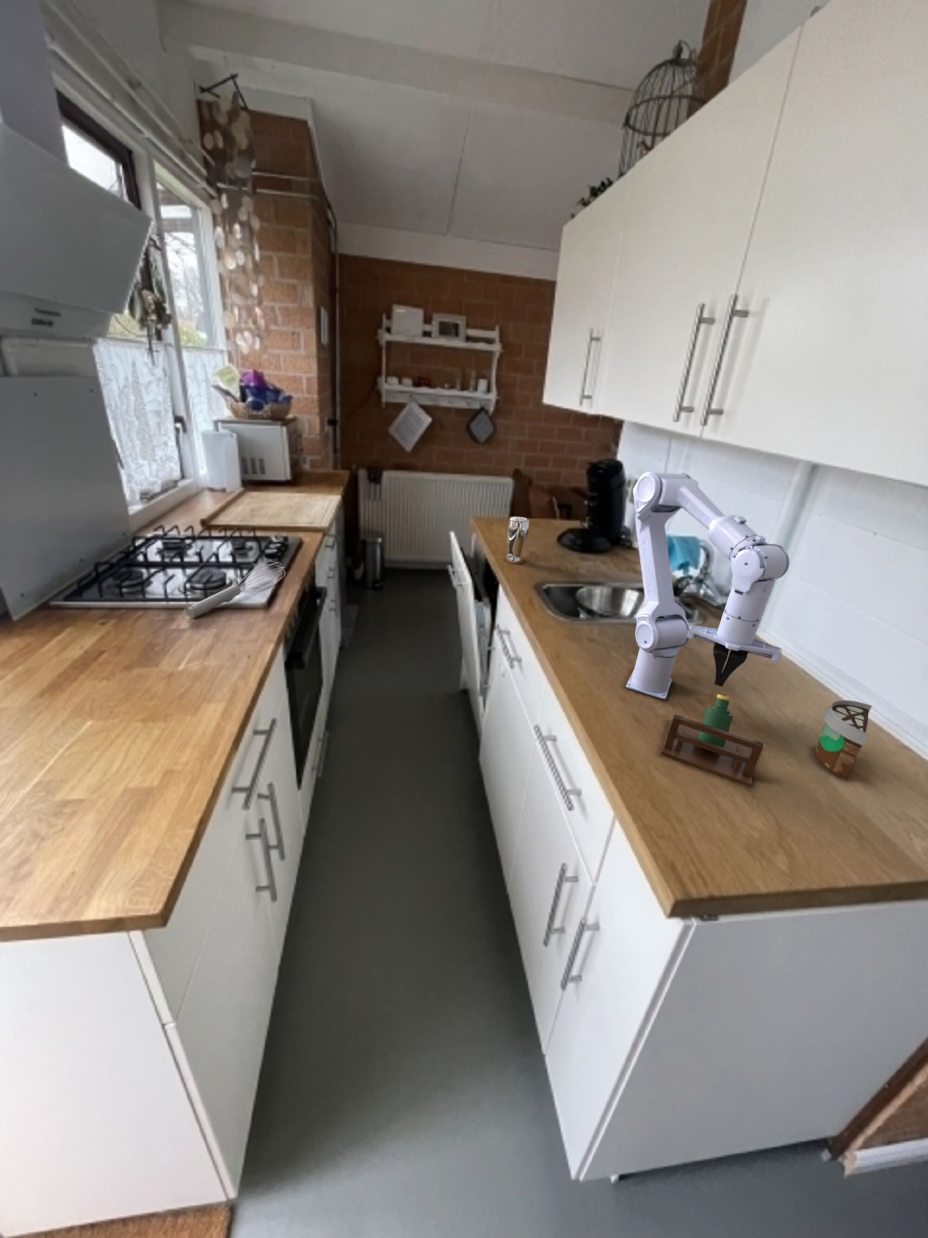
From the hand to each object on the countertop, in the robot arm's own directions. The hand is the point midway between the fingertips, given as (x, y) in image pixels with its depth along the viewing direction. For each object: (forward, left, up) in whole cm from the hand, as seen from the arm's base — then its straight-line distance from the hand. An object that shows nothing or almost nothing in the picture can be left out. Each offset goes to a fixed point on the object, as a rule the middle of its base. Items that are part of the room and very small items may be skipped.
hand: (718, 683), depth 92 cm
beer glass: (-69, -69, -10) cm, 98 cm away
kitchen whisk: (+11, -111, -10) cm, 112 cm away
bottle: (+7, +1, -8) cm, 11 cm away
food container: (-3, +20, -10) cm, 23 cm away
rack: (+8, +1, -10) cm, 12 cm away
